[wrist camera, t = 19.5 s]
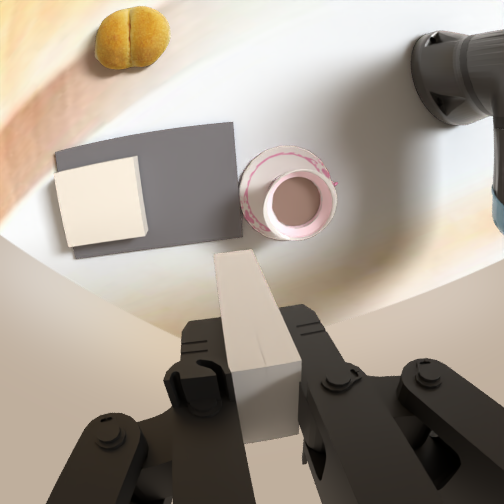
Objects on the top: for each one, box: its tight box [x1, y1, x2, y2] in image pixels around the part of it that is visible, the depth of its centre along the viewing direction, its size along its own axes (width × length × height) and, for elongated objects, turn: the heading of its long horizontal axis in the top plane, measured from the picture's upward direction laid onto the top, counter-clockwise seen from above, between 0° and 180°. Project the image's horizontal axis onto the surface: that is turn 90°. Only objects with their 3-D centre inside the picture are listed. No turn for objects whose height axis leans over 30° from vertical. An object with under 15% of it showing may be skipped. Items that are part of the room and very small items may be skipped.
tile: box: [54, 156, 148, 247], centre depth 34 cm, size 9×3×10 cm
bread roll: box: [95, 6, 171, 70], centre depth 27 cm, size 8×9×4 cm
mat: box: [55, 122, 243, 259], centre depth 36 cm, size 14×22×1 cm, turn 95°
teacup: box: [239, 146, 338, 241], centre depth 36 cm, size 12×12×6 cm
